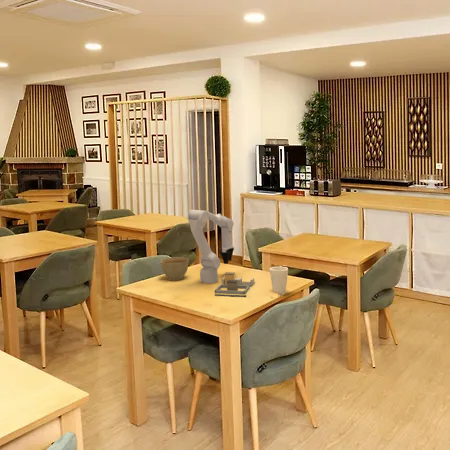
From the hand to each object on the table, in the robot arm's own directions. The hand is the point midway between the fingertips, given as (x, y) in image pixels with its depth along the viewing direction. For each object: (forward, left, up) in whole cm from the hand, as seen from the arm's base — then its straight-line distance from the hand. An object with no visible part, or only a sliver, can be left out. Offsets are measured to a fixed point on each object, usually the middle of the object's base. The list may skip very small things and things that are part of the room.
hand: (227, 262), depth 321 cm
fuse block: (+10, -17, -9) cm, 22 cm away
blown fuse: (+10, -30, -9) cm, 33 cm away
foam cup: (+34, -26, -10) cm, 44 cm away
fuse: (+6, -17, -8) cm, 20 cm away
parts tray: (+10, -30, -9) cm, 33 cm away
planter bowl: (-30, -5, -10) cm, 32 cm away
